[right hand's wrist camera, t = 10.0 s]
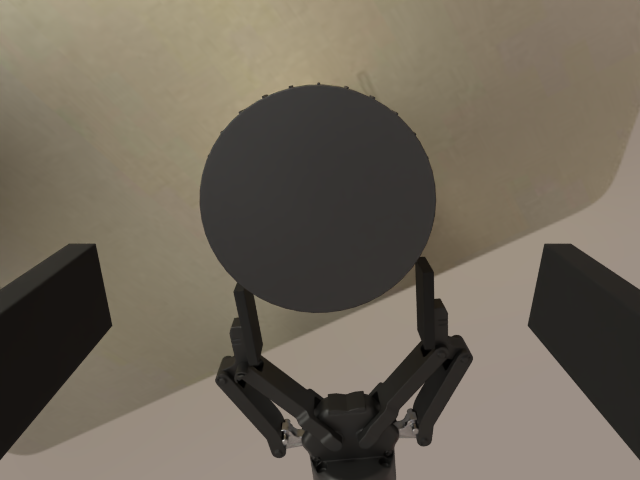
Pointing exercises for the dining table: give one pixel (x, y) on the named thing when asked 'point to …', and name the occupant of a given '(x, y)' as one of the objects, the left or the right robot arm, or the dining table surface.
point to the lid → (317, 198)
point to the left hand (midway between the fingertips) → (332, 273)
